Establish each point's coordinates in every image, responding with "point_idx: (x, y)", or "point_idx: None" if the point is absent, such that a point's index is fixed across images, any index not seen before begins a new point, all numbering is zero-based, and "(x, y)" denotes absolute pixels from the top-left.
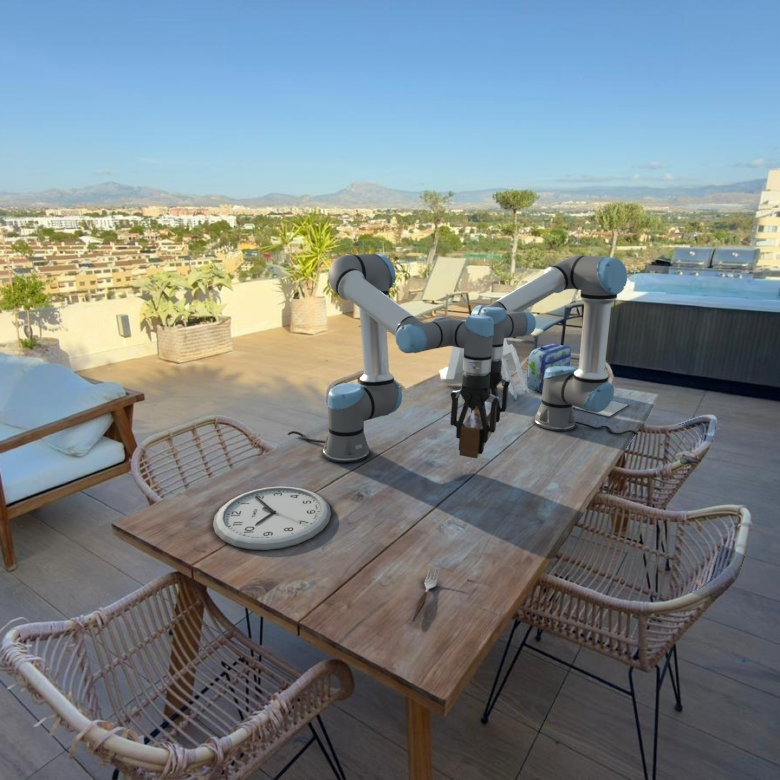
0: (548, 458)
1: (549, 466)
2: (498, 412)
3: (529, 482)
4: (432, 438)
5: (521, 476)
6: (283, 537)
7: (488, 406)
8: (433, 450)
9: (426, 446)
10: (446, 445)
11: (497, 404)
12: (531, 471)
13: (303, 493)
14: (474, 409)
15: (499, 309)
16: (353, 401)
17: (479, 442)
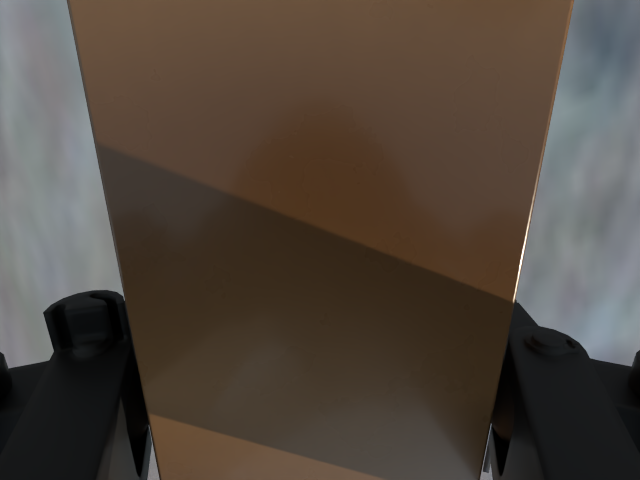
0: (46, 352)
1: (10, 274)
2: (61, 309)
3: (21, 41)
4: (610, 360)
5: (85, 101)
6: None
7: (250, 392)
8: (595, 229)
9: (637, 262)
10: (532, 311)
11: (14, 455)
12: (63, 184)
13: None
14: (547, 47)
15: None
16: None
17: None
